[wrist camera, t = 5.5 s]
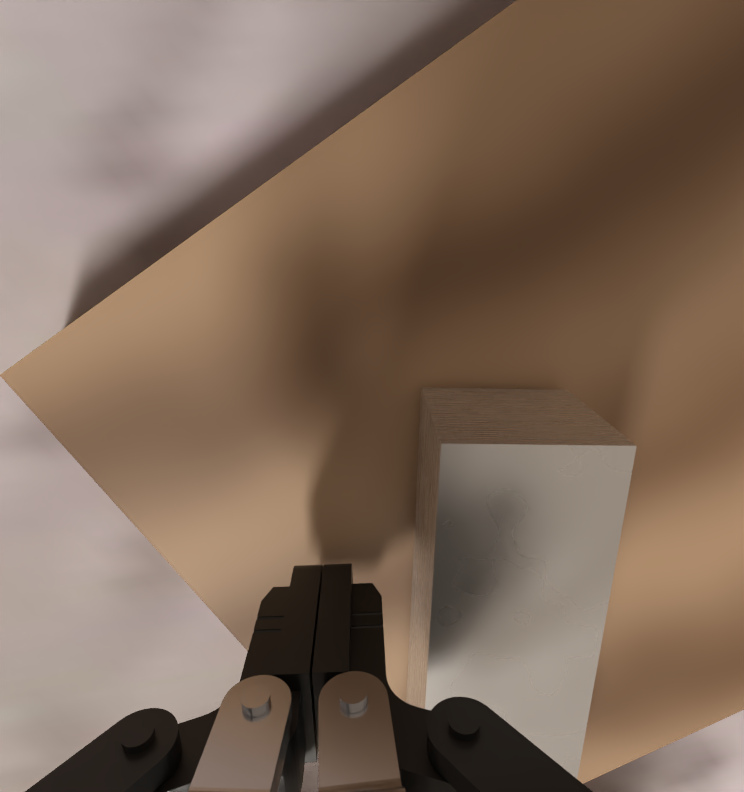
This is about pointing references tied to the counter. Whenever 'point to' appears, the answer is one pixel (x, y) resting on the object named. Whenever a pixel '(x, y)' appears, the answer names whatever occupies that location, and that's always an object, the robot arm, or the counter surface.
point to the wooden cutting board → (457, 339)
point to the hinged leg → (515, 556)
